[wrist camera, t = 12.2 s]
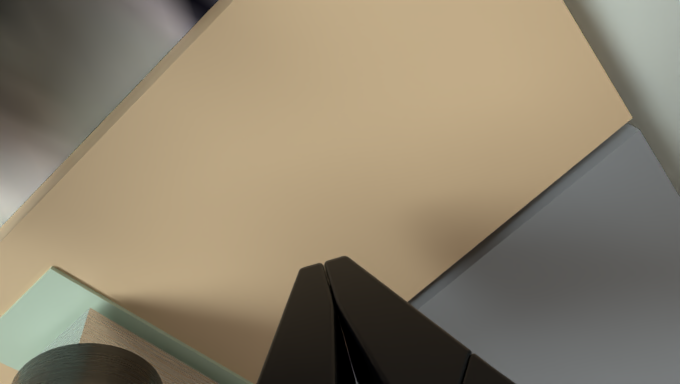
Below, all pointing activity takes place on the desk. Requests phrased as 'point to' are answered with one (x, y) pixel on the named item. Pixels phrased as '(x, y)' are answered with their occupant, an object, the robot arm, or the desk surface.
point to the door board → (363, 193)
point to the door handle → (105, 358)
